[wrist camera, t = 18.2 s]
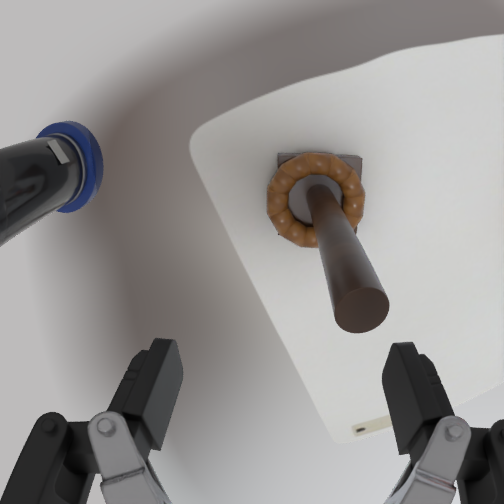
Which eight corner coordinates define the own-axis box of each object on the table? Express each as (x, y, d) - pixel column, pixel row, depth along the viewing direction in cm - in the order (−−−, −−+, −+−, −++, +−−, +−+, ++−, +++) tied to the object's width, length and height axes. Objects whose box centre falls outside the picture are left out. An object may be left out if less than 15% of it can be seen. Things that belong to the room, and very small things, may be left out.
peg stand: (278, 229, 33) (272, 372, 15) (277, 153, 29) (274, 226, 12) (353, 230, 32) (416, 366, 15) (358, 155, 29) (459, 231, 11)
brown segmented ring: (266, 240, 32) (265, 249, 30) (267, 149, 28) (267, 152, 26) (355, 244, 31) (359, 253, 29) (365, 155, 27) (371, 158, 25)
